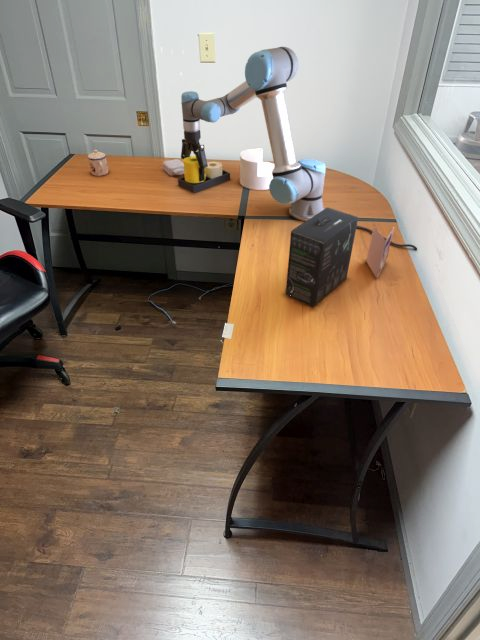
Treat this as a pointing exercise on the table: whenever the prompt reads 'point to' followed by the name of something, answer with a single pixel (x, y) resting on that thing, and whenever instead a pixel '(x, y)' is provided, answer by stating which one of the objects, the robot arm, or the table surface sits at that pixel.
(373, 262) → the greeting card
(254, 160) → the white notched cylinder
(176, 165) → the charger
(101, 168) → the teacup with lid
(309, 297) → the headset box
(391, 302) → the table surface
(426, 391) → the table surface
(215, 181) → the rack
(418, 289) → the table surface
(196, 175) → the tape roll
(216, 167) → the paper roll
